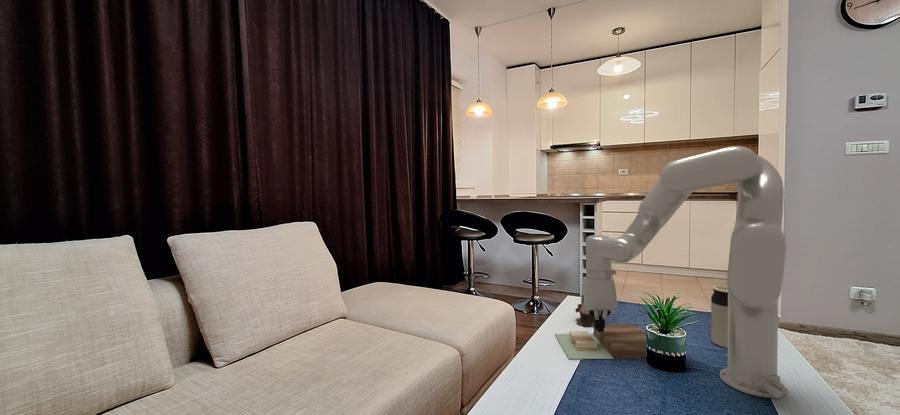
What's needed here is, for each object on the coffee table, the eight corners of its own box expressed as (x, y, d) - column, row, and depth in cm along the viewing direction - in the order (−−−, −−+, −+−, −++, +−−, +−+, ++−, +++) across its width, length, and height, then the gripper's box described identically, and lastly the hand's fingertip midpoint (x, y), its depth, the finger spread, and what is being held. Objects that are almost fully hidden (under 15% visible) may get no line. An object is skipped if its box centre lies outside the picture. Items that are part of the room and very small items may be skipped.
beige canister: (735, 352, 105) (736, 293, 104) (706, 342, 112) (706, 287, 111) (748, 345, 109) (748, 288, 108) (718, 336, 116) (718, 283, 115)
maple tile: (576, 343, 109) (577, 350, 109) (596, 343, 108) (596, 350, 108) (569, 331, 118) (569, 338, 118) (587, 331, 117) (587, 338, 117)
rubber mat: (613, 359, 103) (613, 358, 103) (568, 359, 104) (568, 358, 104) (592, 334, 121) (592, 333, 121) (554, 334, 122) (554, 333, 122)
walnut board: (660, 357, 103) (660, 344, 103) (612, 357, 104) (611, 344, 104) (635, 335, 119) (635, 323, 119) (593, 335, 120) (593, 324, 120)
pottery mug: (568, 324, 132) (570, 302, 136) (584, 330, 136) (586, 309, 140) (596, 325, 123) (597, 302, 126) (613, 331, 127) (613, 309, 130)
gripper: (617, 271, 114) (618, 325, 115) (571, 271, 115) (572, 326, 116) (627, 276, 107) (628, 335, 108) (578, 277, 108) (579, 335, 109)
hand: (599, 330), depth 112 cm, fingers closed
